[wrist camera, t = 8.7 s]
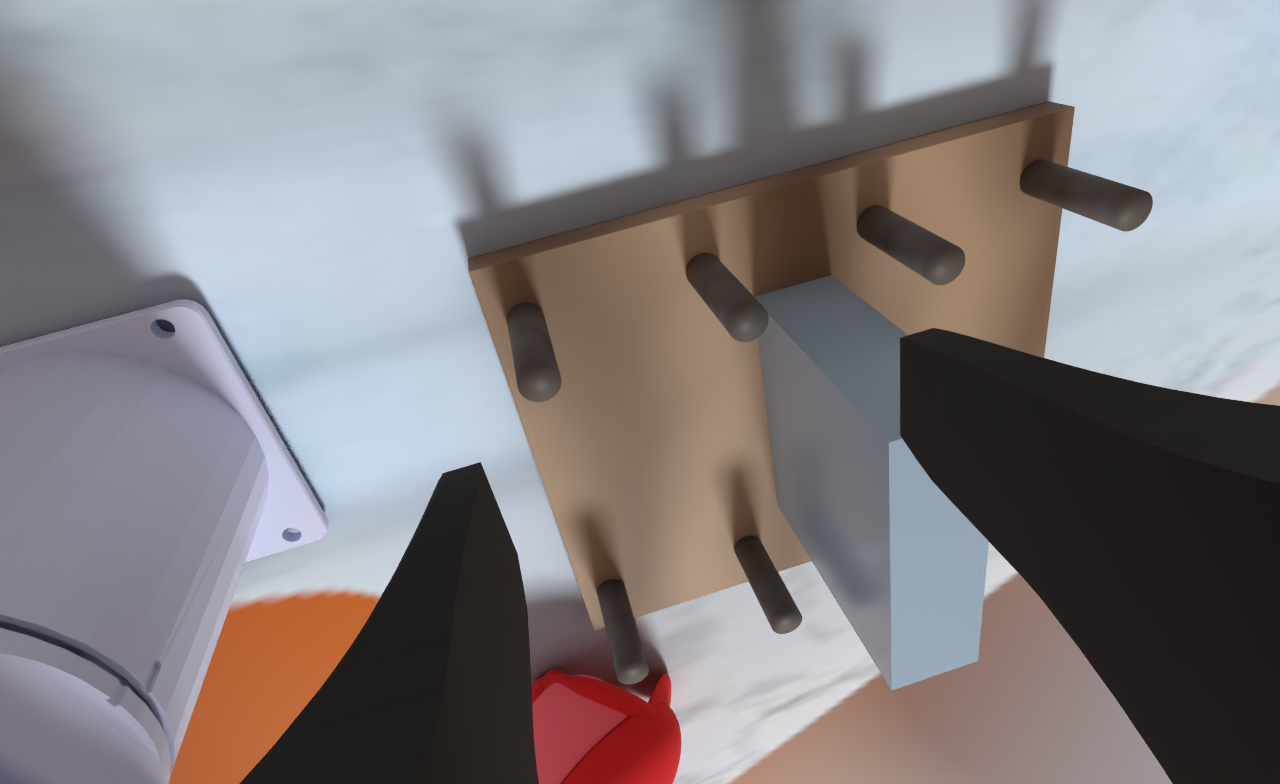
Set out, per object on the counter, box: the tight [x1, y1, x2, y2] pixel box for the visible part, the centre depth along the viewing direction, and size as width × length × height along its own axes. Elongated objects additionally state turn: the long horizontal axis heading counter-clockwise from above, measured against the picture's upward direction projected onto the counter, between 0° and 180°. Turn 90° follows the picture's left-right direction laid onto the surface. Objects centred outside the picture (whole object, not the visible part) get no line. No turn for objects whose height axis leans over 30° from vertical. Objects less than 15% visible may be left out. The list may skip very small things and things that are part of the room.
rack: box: [468, 102, 1153, 684], centre depth 22 cm, size 17×14×4 cm
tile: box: [755, 275, 989, 690], centre depth 19 cm, size 2×8×8 cm, turn 12°
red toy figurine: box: [532, 669, 681, 784], centre depth 27 cm, size 8×6×6 cm
